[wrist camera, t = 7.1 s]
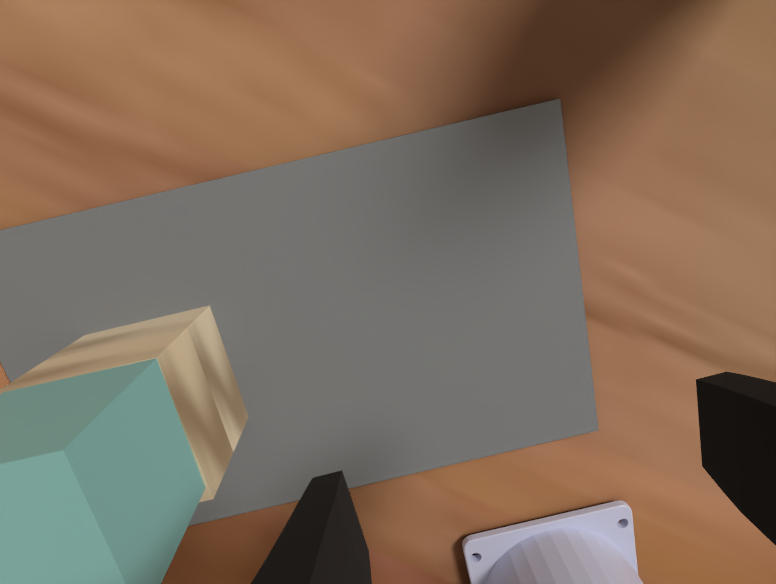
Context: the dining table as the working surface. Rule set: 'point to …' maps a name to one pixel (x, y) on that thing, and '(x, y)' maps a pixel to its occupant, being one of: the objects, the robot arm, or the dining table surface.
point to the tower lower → (206, 349)
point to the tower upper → (181, 382)
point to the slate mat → (345, 300)
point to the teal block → (94, 479)
